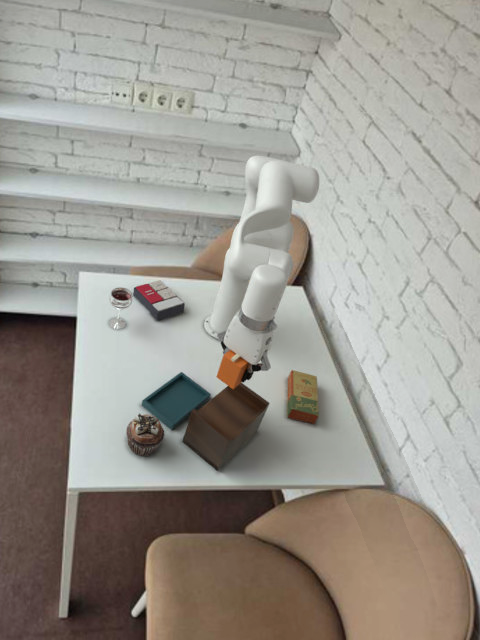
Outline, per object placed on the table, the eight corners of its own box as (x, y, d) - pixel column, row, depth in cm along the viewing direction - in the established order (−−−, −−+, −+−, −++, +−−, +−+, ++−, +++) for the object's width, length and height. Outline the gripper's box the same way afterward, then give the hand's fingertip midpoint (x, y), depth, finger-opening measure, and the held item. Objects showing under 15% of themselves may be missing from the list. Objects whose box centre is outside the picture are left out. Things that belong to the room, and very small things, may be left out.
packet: (236, 360, 134) (244, 336, 129) (252, 372, 132) (262, 348, 127) (216, 377, 128) (224, 352, 123) (233, 389, 126) (242, 365, 121)
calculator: (160, 278, 186) (185, 302, 177) (159, 288, 188) (183, 312, 180) (133, 285, 180) (158, 310, 171) (132, 295, 182) (156, 321, 174)
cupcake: (165, 456, 135) (172, 432, 129) (128, 462, 132) (133, 437, 126) (156, 426, 142) (162, 401, 136) (120, 430, 139) (125, 405, 132)
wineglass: (132, 323, 171) (137, 294, 163) (119, 334, 166) (123, 304, 158) (115, 313, 173) (119, 284, 165) (102, 323, 168) (105, 294, 161)
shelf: (222, 406, 152) (233, 376, 144) (256, 432, 147) (269, 402, 139) (182, 441, 140) (191, 411, 132) (217, 471, 135) (229, 441, 127)
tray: (180, 376, 157) (181, 371, 156) (209, 398, 153) (211, 394, 152) (141, 405, 146) (142, 400, 145) (171, 430, 142) (172, 425, 141)
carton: (312, 385, 165) (317, 375, 163) (314, 425, 153) (320, 415, 150) (286, 378, 165) (291, 369, 163) (286, 418, 153) (291, 408, 150)
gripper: (296, 330, 117) (272, 385, 129) (234, 290, 124) (217, 345, 135) (278, 345, 112) (255, 401, 124) (215, 303, 119) (199, 359, 131)
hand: (235, 371), depth 130 cm, fingers closed on packet, 5 cm apart
